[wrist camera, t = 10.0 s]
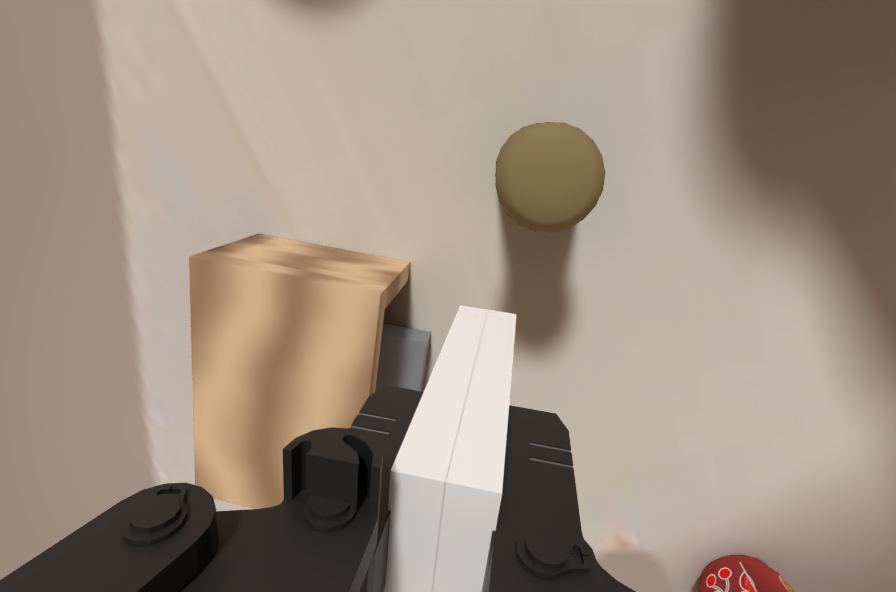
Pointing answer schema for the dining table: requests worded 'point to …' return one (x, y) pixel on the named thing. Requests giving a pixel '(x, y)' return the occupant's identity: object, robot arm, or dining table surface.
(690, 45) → the dining table surface
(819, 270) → the dining table surface
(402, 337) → the slate board
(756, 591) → the smoothie
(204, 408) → the oak shelf
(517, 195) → the cork
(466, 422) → the robot arm
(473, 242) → the dining table surface
